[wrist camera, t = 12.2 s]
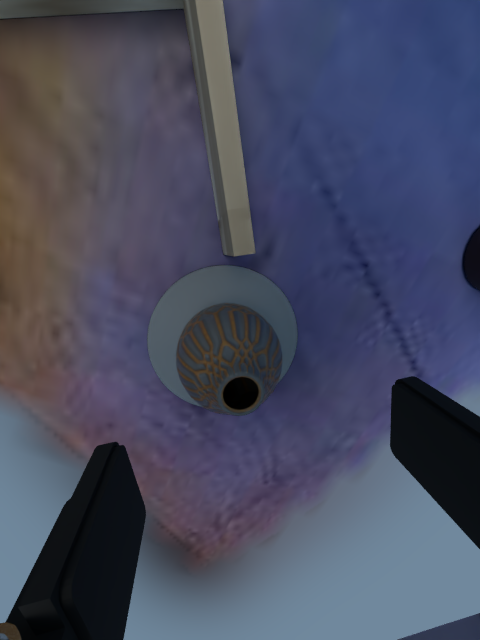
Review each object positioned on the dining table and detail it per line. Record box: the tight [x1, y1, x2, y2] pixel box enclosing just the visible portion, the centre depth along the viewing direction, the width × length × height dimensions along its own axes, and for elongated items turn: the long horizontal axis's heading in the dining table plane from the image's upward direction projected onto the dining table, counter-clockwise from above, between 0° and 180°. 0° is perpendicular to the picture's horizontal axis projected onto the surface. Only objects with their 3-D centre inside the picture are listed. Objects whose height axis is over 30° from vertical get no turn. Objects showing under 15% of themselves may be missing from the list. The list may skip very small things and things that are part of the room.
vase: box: [176, 303, 282, 416], centre depth 18 cm, size 7×7×9 cm
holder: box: [0, 0, 255, 256], centre depth 15 cm, size 18×16×6 cm
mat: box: [147, 265, 298, 407], centre depth 22 cm, size 12×12×1 cm
